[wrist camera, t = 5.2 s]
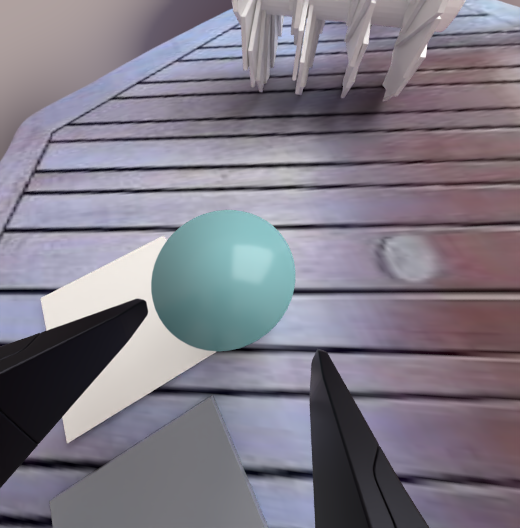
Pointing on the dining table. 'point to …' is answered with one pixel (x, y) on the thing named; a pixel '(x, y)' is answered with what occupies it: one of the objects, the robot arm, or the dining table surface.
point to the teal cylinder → (223, 280)
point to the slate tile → (167, 482)
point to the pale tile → (136, 349)
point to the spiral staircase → (359, 24)
